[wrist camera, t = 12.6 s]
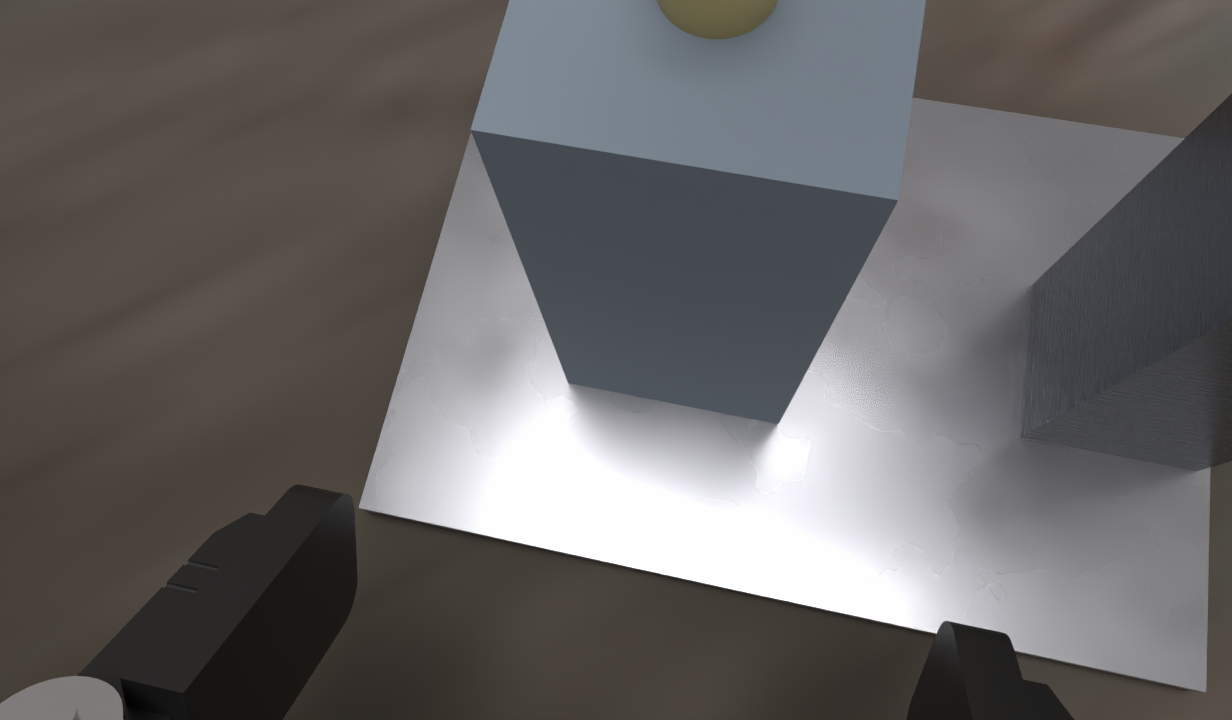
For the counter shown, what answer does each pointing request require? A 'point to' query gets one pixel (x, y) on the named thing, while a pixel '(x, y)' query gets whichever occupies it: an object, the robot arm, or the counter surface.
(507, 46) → the block
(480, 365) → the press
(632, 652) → the counter surface
